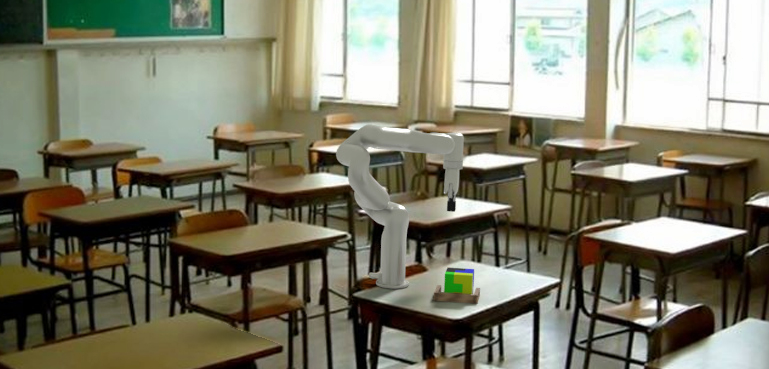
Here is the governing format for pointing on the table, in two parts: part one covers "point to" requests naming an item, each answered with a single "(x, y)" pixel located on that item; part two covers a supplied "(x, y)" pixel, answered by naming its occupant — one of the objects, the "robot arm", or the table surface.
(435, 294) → the base frame
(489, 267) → the table surface
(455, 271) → the puzzle toy
